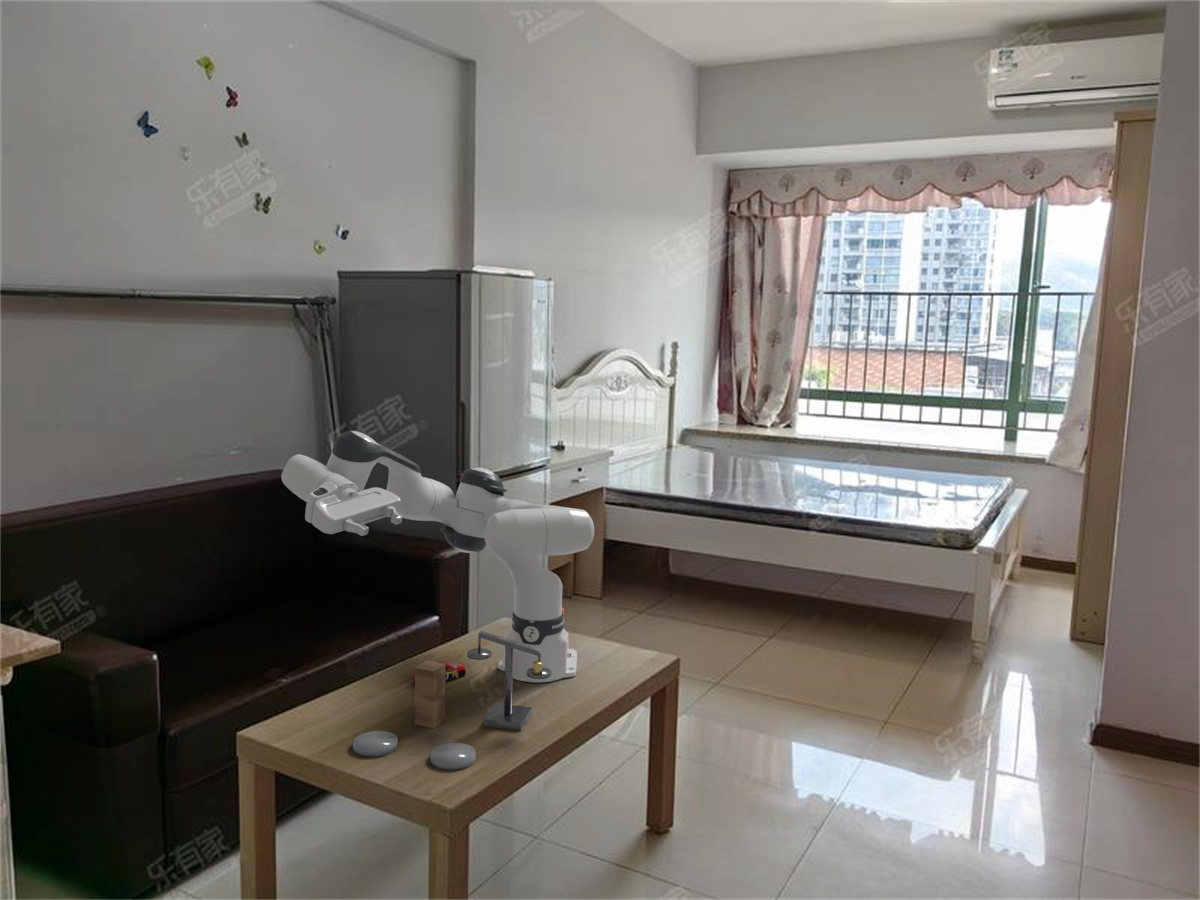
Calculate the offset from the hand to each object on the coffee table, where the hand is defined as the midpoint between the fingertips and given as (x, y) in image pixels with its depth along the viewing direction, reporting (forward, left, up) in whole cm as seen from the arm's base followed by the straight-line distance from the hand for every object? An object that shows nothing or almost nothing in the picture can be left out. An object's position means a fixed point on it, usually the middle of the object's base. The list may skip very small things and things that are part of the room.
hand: (383, 526), depth 196 cm
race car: (-14, +8, -39) cm, 42 cm away
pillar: (+8, +14, -38) cm, 41 cm away
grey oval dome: (+21, +8, -38) cm, 44 cm away
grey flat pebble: (+22, +24, -38) cm, 50 cm away
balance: (+3, +29, -38) cm, 48 cm away
